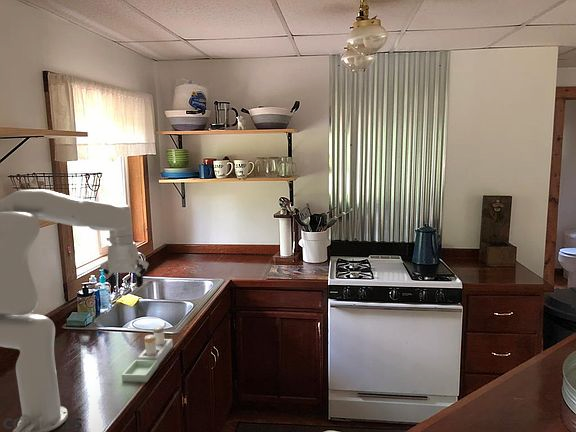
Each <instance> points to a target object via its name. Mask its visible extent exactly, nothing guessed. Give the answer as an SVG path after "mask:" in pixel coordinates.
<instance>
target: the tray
mask: <svg viewBox="0 0 576 432" xmlns="http://www.w3.org/2000/svg"><path fill="white" fill-rule="evenodd" d="M158 368H159V365H158V360H138V359H135V360H134V361H132V363H131V364H130V365H128V367H127V368H126V369H125V370H124V371H123V372H122V374H121V380H122V383H148V382H149V380H150V378H151V377H152V376H153V375H154V373H156V371H157V370H158Z"/></svg>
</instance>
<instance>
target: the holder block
mask: <svg viewBox="0 0 576 432" xmlns="http://www.w3.org/2000/svg"><path fill="white" fill-rule="evenodd" d="M173 345H174V343H173V338H165V345H164V346H156V351H157V354H156V355H155V356H146V348H145V349H144V350H143V351H142V352H141V353H140V354H139V355H138V356H137V360H158V366H159V365H160V363H162V361H163V360H164V359H165V357H166V356H167V354H169V352H170V351H171V350H172V348H174V347H173Z"/></svg>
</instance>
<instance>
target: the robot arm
mask: <svg viewBox="0 0 576 432" xmlns="http://www.w3.org/2000/svg"><path fill="white" fill-rule="evenodd" d="M131 213H132V212H131V208H130V206H129V205H127V204H122V203H121V204H109V203H104V202H98V201H93V200H88V199H83V198H79V197H78V198H77V197H74V196H70V195H66V194H64V193H61V192H60V193H59V192H56V191H52V190H47V189H19V190H17V191H14V192H13V193H11V194H9V195H7V196H5V197H4V198H2V199H1V200H0V347H2V348H7V349H14V350H18V351H19V355H18V357H17V360H16V363H15V373H16V381H17V386H18V394H19V401H20V408H21V409H20V410H21V415H20V419H19V421H18V422H17V424H16V425H17V426H16V427H15V428H14V429H13V430H12V432H51V431H53V430H55V429H56V428H58V427H60V426H61V425H63V423H64V422H66V421H67V419H68V418H69V417H68V416H69V415H68V412H69V411H68V409H67V408H66V407H65V406H61V405H62V404H61V397H60V391H59V384H58V383H59V382H58V376H57V369H56V368H57V367H56V359H55V336H56V326H55V323H54V322H53V320H52V319H51V318H49V317H48V316H45V315H43V314H38V313H32V312H34V311H35V310H36V308H37V307H38V304H39V294H38V291H37V288H36V284H35V282H34V279H33V275H32V272H31V270H30V269H31V268H30V266H29V259H28V258H29V253H30V250H31V248H32V247H33V244H34V243H35V241H36V239H37V237H38V236H39V233H40V229H41V225H40V221H47V222H52V223H57V224H62V225H67V226H72V227H87V228H89V229H91V230H94V231H102V232H103V231H104V232H105V231H109V236H106V241H109V243H110V244H108V245H107V260H106V261H104V262H103V263H101V264H100V265H99V266H100V268H101V269H102V271H103V273H104V274H105V275H106V276H107V278H108V280H109V283H108V284H109V286H110V288H111V289H113V288H115V286H117V277H116V273H118V274H119V273H121V274H122V273H123V274H124V273H134V274H136V277H135V279H136V287H137V288H140V287H141V286H143V285H144V278H143V274H144V273H145V272H146V271H147V269H148V268H149V265H150V264H149V262H148V261H145V260H143V259H141V258H140V255H139V250H138V247H137V244H136V242H135V241H134V236H133V235H134V234H133V225H132V214H131ZM39 220H40V221H39ZM141 266H142V269H141Z"/></svg>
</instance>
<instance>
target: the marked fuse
mask: <svg viewBox="0 0 576 432" xmlns="http://www.w3.org/2000/svg"><path fill="white" fill-rule="evenodd" d="M144 346H145V349H146V356H155V355H156V354H157V351H156V338H155V335H154V334H147V335H145V336H144Z"/></svg>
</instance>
